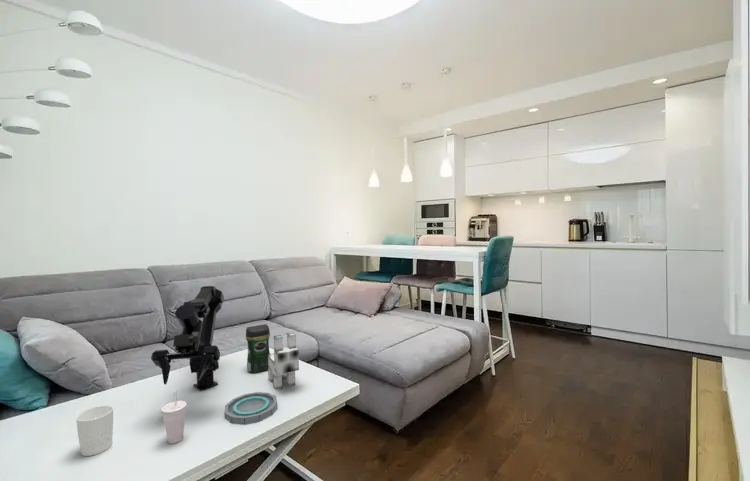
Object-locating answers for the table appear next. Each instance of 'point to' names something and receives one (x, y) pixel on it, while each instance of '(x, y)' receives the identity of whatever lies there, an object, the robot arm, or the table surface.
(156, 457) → the table surface
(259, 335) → the coffee jar
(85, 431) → the white cup
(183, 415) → the smoothie
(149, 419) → the table surface
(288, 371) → the toy llama
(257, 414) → the tray
